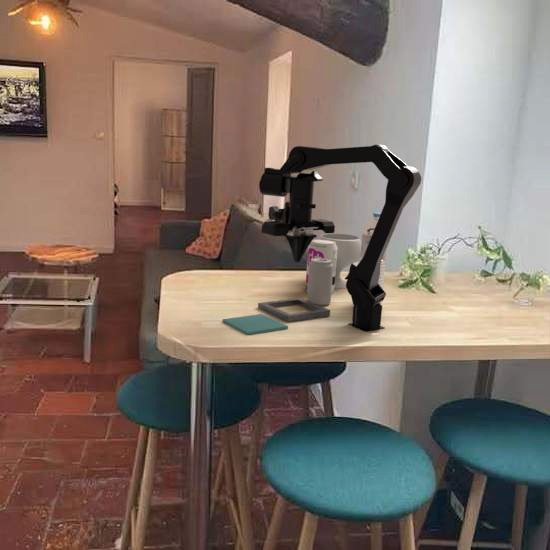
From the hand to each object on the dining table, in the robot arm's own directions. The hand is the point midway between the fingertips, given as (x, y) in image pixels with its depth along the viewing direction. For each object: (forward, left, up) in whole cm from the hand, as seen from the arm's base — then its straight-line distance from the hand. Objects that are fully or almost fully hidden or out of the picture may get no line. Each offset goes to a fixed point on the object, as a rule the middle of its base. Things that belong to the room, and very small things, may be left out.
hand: (296, 261), depth 155 cm
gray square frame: (0, 0, -13) cm, 13 cm away
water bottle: (-3, -23, -13) cm, 27 cm away
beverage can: (+4, -11, -13) cm, 18 cm away
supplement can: (+13, -19, -13) cm, 26 cm away
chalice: (+18, -30, -13) cm, 38 cm away
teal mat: (-5, +15, -13) cm, 20 cm away
